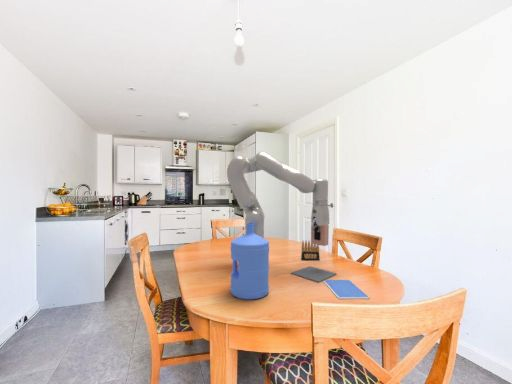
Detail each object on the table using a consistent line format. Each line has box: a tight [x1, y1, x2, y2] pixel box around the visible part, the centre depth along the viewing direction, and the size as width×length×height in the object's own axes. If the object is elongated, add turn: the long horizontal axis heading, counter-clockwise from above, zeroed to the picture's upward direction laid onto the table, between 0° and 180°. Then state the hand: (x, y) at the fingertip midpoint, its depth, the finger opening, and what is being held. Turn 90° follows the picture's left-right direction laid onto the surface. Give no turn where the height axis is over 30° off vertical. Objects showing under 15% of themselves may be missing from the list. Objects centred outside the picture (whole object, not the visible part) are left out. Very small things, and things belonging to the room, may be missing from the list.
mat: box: [290, 265, 337, 283], centre depth 123 cm, size 16×16×1 cm
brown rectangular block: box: [310, 223, 330, 247], centre depth 126 cm, size 4×8×10 cm, turn 42°
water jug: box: [229, 223, 270, 301], centre depth 101 cm, size 16×16×28 cm
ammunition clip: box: [300, 240, 321, 262], centre depth 149 cm, size 11×2×12 cm, turn 90°
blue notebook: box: [322, 279, 370, 300], centre depth 105 cm, size 19×13×1 cm, turn 2°
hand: (319, 238), depth 126 cm, fingers closed on brown rectangular block, 3 cm apart
